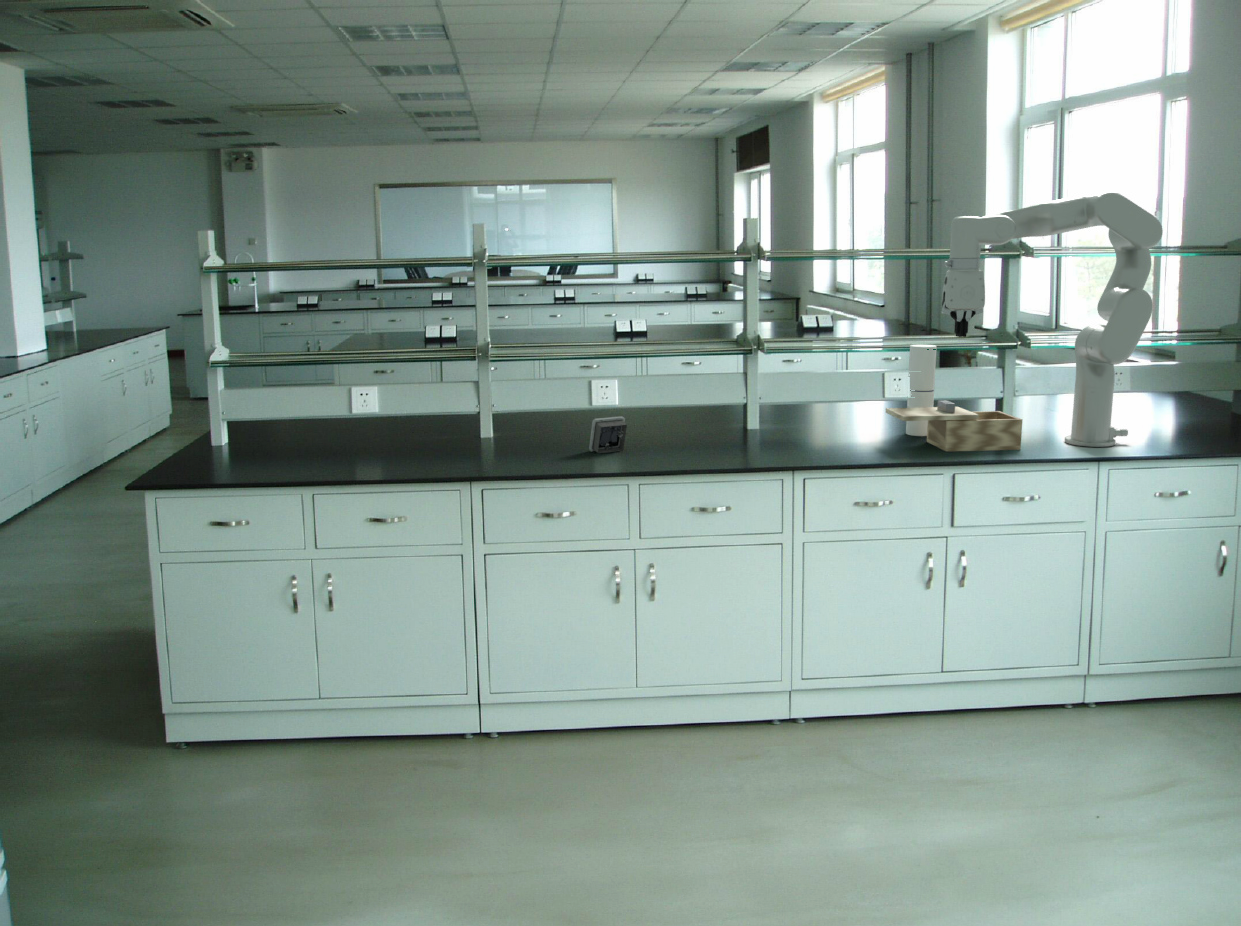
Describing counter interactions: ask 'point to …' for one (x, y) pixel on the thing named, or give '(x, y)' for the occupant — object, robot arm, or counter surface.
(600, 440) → the electrical switch
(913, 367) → the cylindrical container
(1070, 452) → the counter surface
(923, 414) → the lid
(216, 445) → the counter surface
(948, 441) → the wooden box
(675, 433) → the counter surface
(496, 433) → the counter surface
